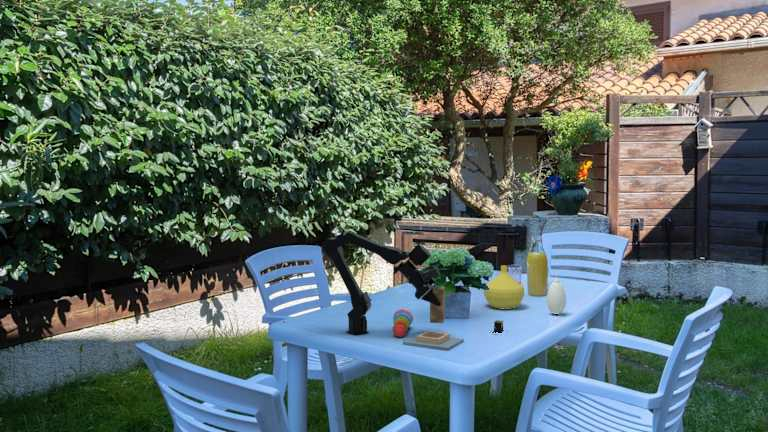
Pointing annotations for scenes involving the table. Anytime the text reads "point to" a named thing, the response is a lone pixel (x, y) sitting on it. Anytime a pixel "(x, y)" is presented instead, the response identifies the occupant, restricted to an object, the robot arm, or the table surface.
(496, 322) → the black block on base
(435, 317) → the walnut pillar
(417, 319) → the table surface
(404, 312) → the stacking toy
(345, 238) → the robot arm
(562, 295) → the sauce bottle
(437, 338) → the grey board with frame
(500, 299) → the vase
